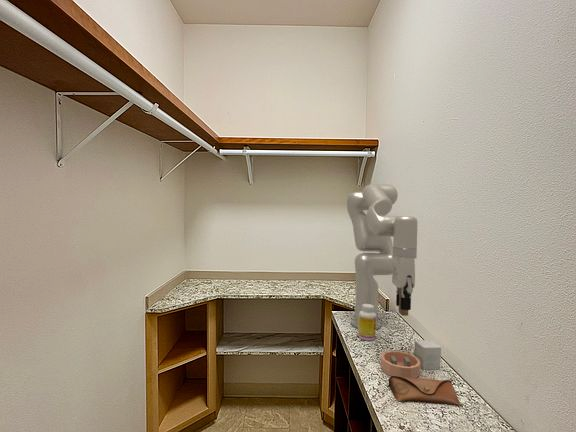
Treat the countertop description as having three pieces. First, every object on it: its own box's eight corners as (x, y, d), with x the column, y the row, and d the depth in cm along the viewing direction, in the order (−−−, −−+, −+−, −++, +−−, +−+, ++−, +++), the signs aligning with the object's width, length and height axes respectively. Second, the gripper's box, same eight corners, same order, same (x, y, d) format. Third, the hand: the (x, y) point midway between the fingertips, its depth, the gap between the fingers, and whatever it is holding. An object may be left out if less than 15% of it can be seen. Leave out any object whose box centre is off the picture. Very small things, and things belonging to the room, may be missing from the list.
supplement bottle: (375, 342, 127) (377, 308, 127) (358, 340, 128) (359, 307, 128) (374, 335, 133) (376, 303, 133) (358, 333, 135) (359, 302, 134)
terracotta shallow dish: (377, 360, 112) (377, 349, 112) (412, 362, 111) (413, 351, 111) (385, 378, 100) (386, 366, 100) (425, 380, 99) (425, 368, 99)
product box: (412, 361, 112) (414, 339, 112) (429, 360, 113) (430, 339, 113) (423, 370, 106) (424, 347, 106) (440, 369, 107) (441, 347, 107)
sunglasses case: (396, 402, 88) (393, 374, 91) (389, 402, 94) (387, 376, 97) (465, 407, 87) (460, 378, 90) (454, 406, 93) (450, 380, 96)
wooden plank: (398, 312, 113) (399, 282, 113) (404, 312, 113) (405, 283, 113) (402, 315, 109) (402, 285, 109) (408, 315, 109) (409, 285, 109)
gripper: (386, 250, 120) (385, 301, 120) (401, 255, 103) (399, 314, 103) (407, 251, 120) (406, 301, 120) (425, 256, 103) (423, 315, 103)
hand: (403, 307), depth 111 cm, fingers closed on wooden plank, 3 cm apart
